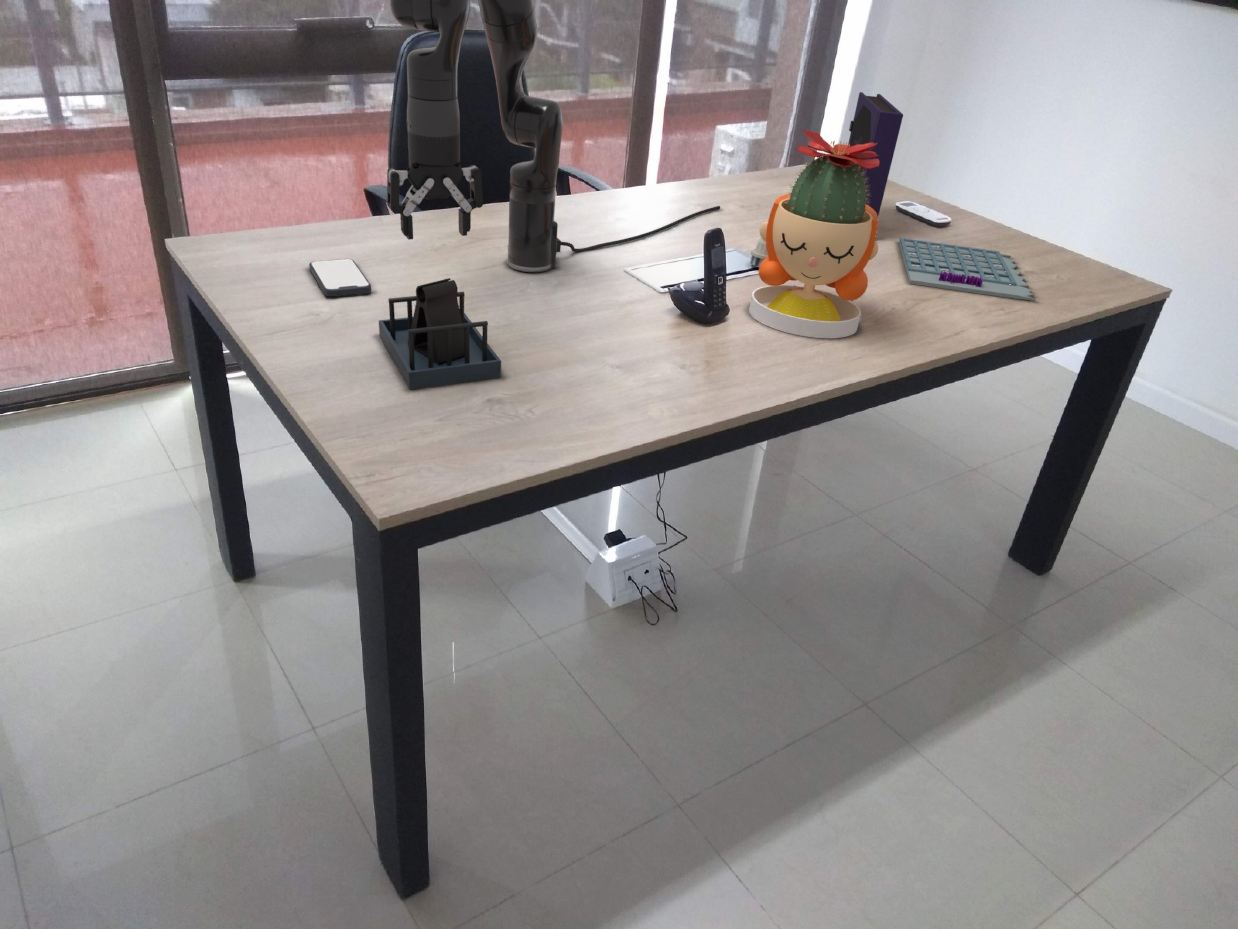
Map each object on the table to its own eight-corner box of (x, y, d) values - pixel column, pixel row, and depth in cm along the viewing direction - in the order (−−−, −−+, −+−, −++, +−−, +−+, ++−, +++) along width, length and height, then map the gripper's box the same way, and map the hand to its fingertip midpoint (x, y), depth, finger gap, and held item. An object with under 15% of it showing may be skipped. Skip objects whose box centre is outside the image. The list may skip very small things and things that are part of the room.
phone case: (308, 269, 179) (325, 298, 167) (307, 261, 178) (324, 290, 167) (353, 265, 183) (373, 294, 171) (352, 257, 182) (373, 286, 170)
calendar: (1011, 258, 223) (1014, 249, 221) (1036, 301, 199) (1039, 291, 198) (898, 243, 226) (901, 233, 224) (909, 283, 202) (912, 273, 200)
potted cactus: (854, 346, 170) (902, 155, 152) (738, 322, 175) (770, 134, 156) (863, 305, 188) (906, 130, 169) (757, 285, 193) (788, 112, 174)
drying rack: (463, 327, 163) (463, 282, 158) (500, 377, 148) (501, 330, 143) (379, 336, 157) (376, 290, 152) (409, 389, 142) (407, 340, 137)
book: (874, 240, 225) (905, 114, 209) (849, 238, 225) (878, 111, 209) (854, 211, 245) (881, 93, 229) (831, 209, 245) (857, 91, 228)
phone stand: (407, 345, 152) (404, 277, 146) (437, 336, 156) (436, 270, 150) (438, 365, 147) (437, 296, 141) (469, 356, 151) (468, 288, 145)
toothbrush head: (841, 239, 211) (768, 238, 196) (832, 267, 214) (759, 268, 199) (824, 232, 214) (751, 231, 199) (816, 259, 217) (743, 260, 202)
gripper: (391, 136, 127) (397, 247, 136) (488, 133, 133) (488, 240, 142) (378, 122, 133) (384, 231, 141) (472, 120, 138) (473, 225, 147)
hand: (436, 235), depth 142 cm, fingers open, 8 cm apart
